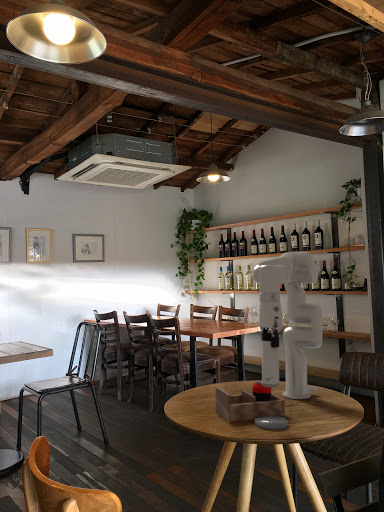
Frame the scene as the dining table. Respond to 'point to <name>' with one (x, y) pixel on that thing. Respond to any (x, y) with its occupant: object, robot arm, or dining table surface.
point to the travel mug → (269, 362)
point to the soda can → (261, 392)
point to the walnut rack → (246, 406)
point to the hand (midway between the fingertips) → (270, 345)
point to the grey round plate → (271, 422)
